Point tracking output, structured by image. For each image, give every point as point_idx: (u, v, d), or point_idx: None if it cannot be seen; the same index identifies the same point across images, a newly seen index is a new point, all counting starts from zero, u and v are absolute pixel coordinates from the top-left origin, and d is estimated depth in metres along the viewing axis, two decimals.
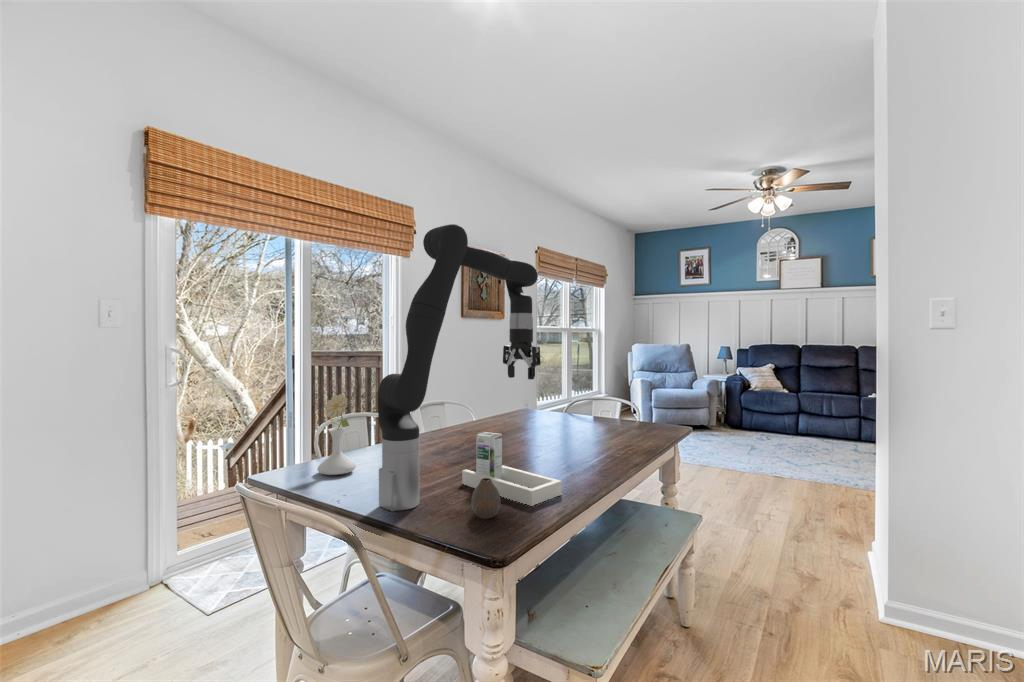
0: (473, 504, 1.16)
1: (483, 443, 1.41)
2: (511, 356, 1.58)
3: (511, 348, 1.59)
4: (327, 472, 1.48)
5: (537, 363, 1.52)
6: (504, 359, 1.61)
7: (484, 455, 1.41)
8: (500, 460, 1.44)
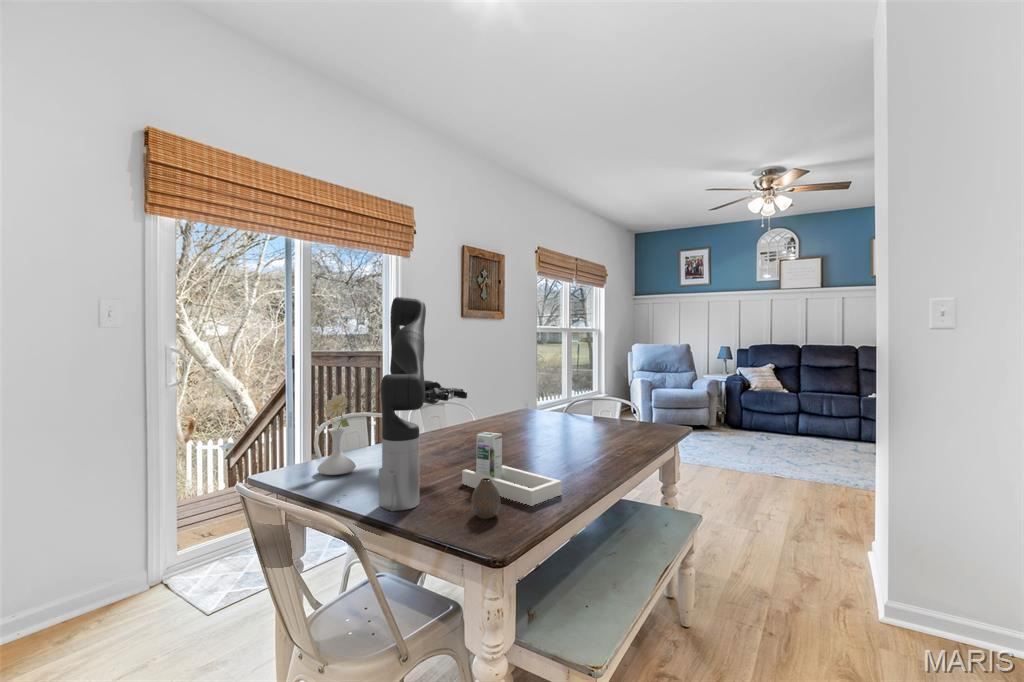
0: (473, 504, 1.16)
1: (483, 443, 1.41)
2: (436, 389, 1.57)
3: (429, 390, 1.58)
4: (327, 472, 1.48)
5: None
6: (430, 392, 1.53)
7: (484, 455, 1.41)
8: (500, 460, 1.44)
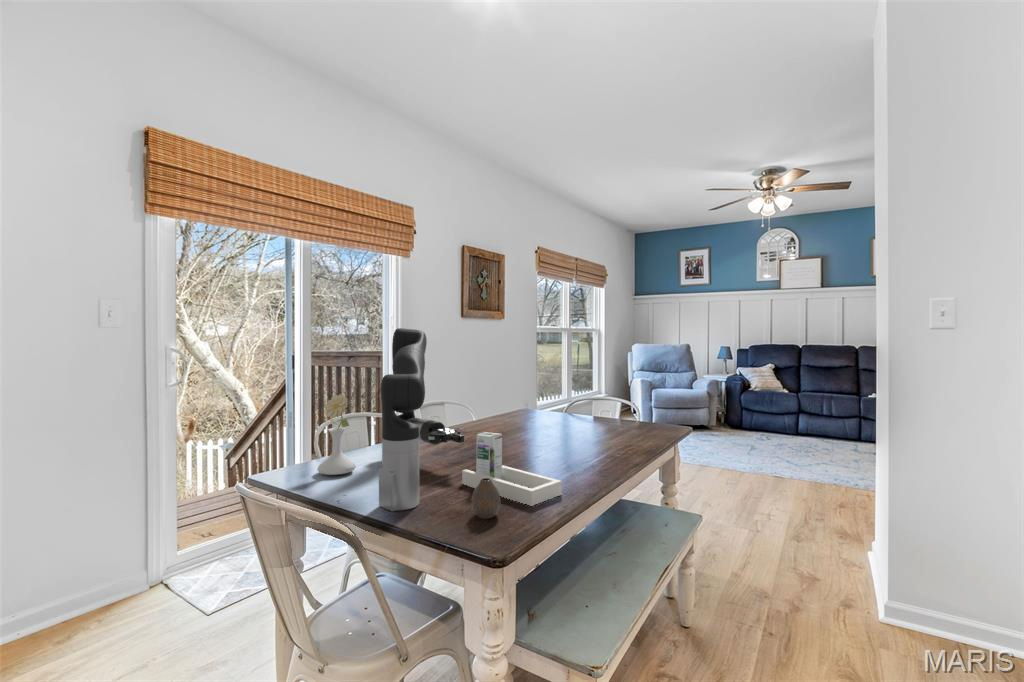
0: (473, 504, 1.16)
1: (483, 443, 1.41)
2: (444, 430, 1.56)
3: (433, 432, 1.57)
4: (327, 472, 1.48)
5: None
6: (443, 434, 1.53)
7: (484, 455, 1.41)
8: (500, 460, 1.44)
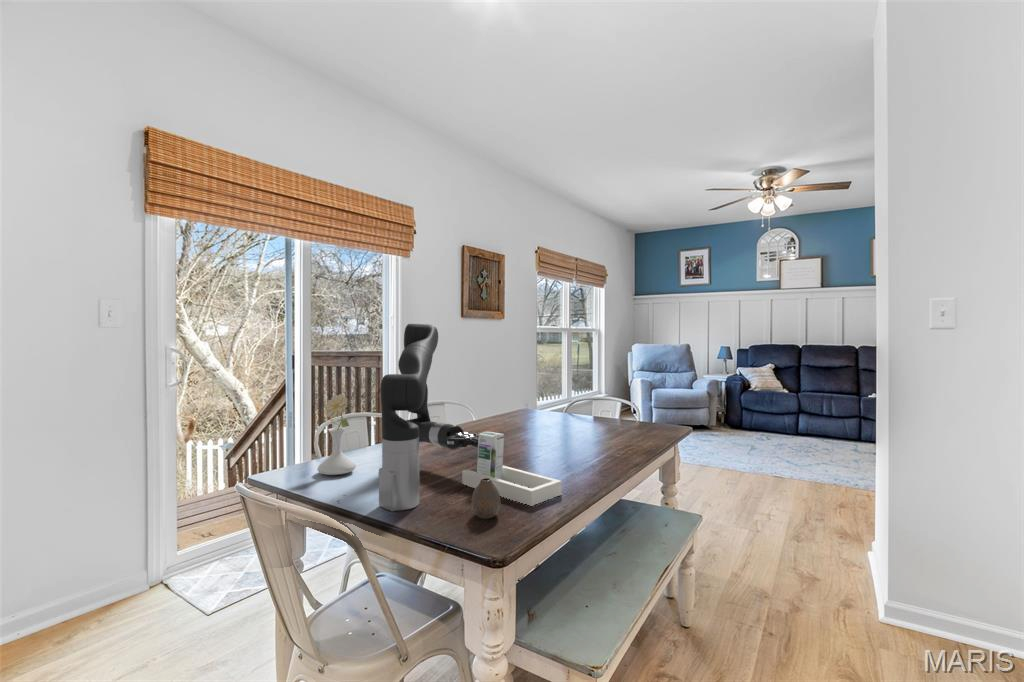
0: (473, 504, 1.16)
1: (485, 443, 1.41)
2: (463, 434, 1.50)
3: (452, 436, 1.50)
4: (327, 472, 1.48)
5: None
6: (462, 438, 1.47)
7: (486, 455, 1.40)
8: (501, 460, 1.43)
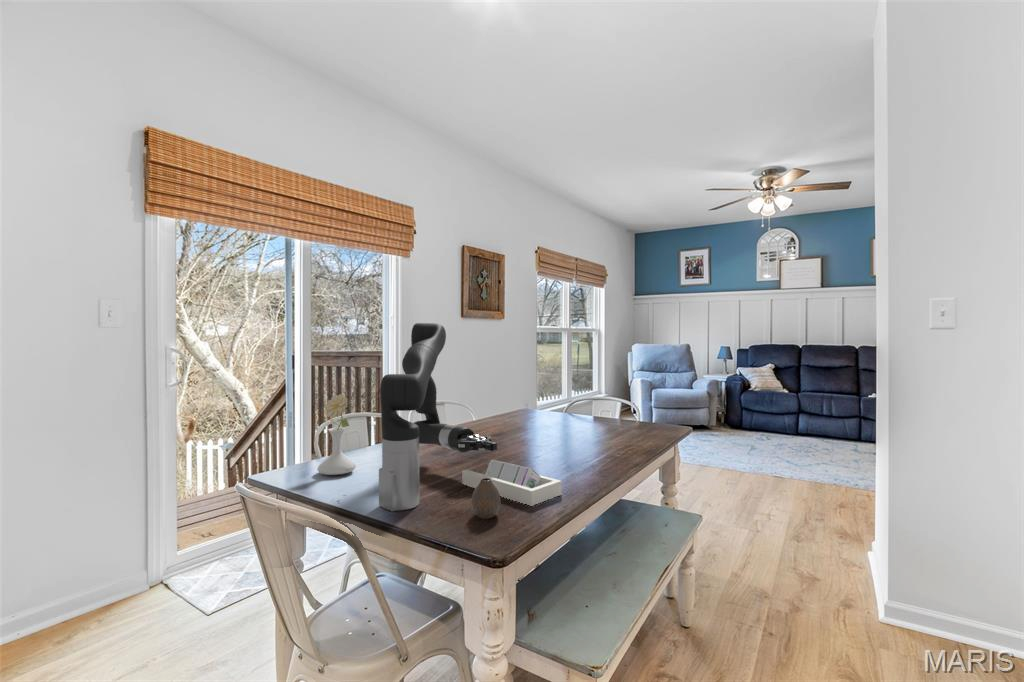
0: (473, 504, 1.16)
1: None
2: (474, 437, 1.46)
3: (462, 439, 1.47)
4: (327, 472, 1.48)
5: (491, 442, 1.47)
6: (473, 441, 1.43)
7: None
8: None
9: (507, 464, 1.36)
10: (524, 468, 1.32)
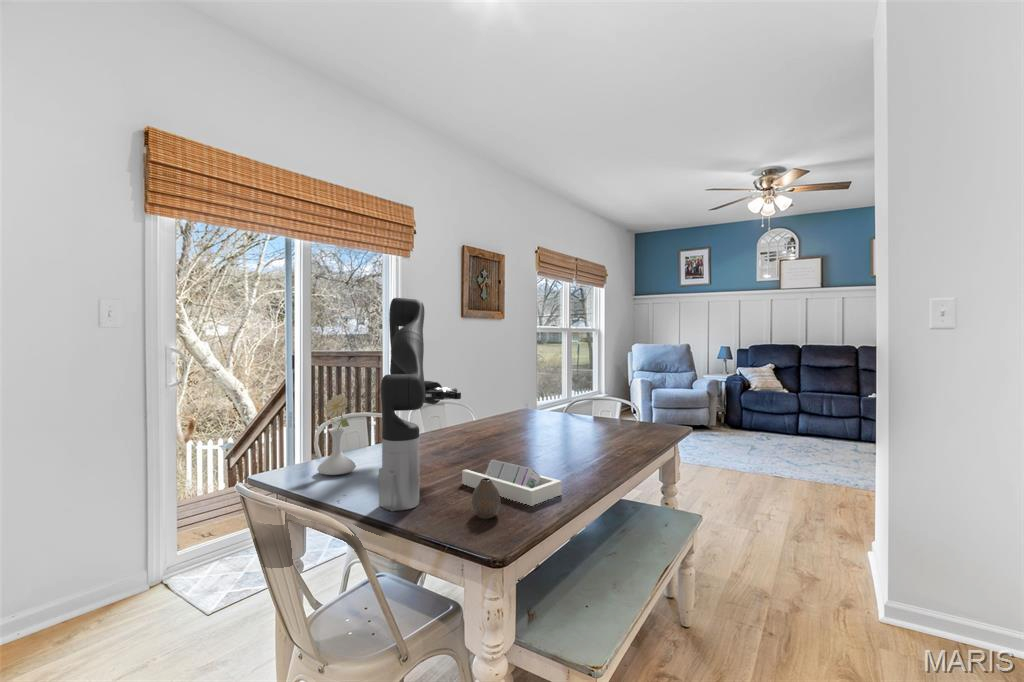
0: (473, 504, 1.16)
1: None
2: (441, 388, 1.57)
3: (430, 390, 1.58)
4: (327, 472, 1.48)
5: None
6: (439, 391, 1.54)
7: None
8: None
9: (507, 464, 1.36)
10: (524, 468, 1.32)
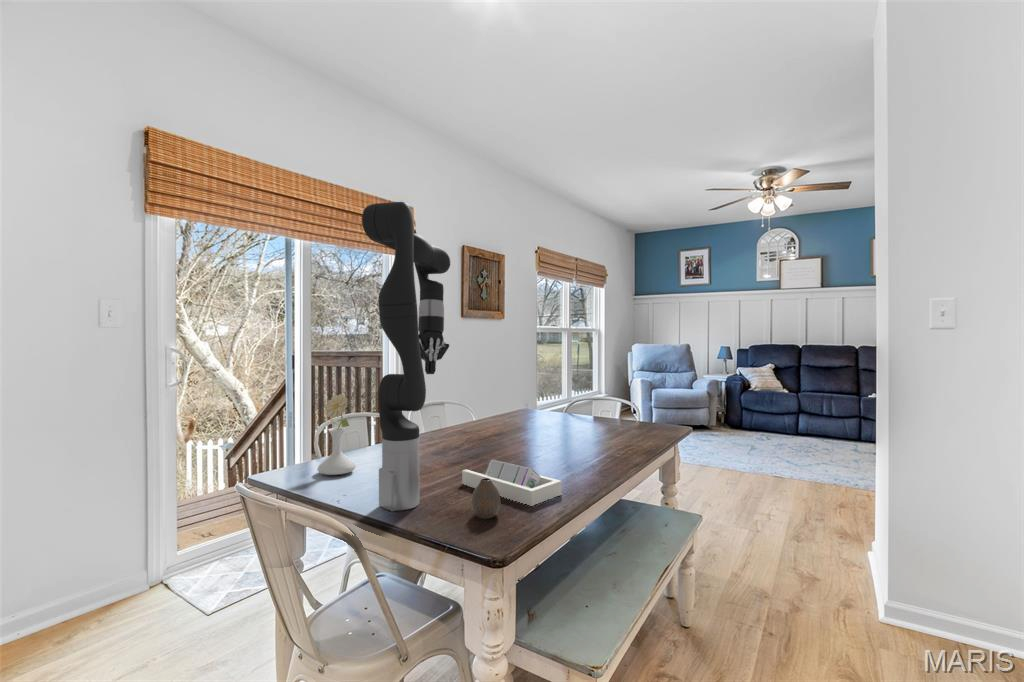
0: (473, 504, 1.16)
1: None
2: (431, 347, 1.45)
3: (424, 337, 1.44)
4: (327, 472, 1.48)
5: None
6: (424, 354, 1.44)
7: None
8: None
9: (507, 464, 1.36)
10: (524, 468, 1.32)
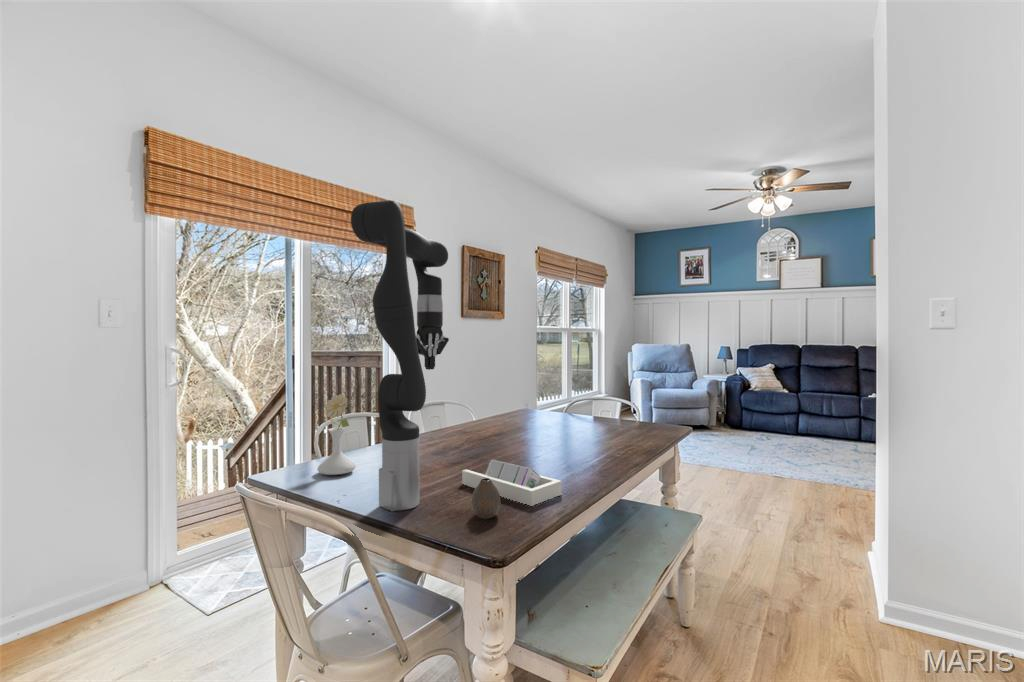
0: (473, 504, 1.16)
1: None
2: (430, 343, 1.44)
3: (423, 333, 1.43)
4: (327, 472, 1.48)
5: None
6: (423, 350, 1.43)
7: None
8: None
9: (507, 464, 1.36)
10: (524, 468, 1.32)
